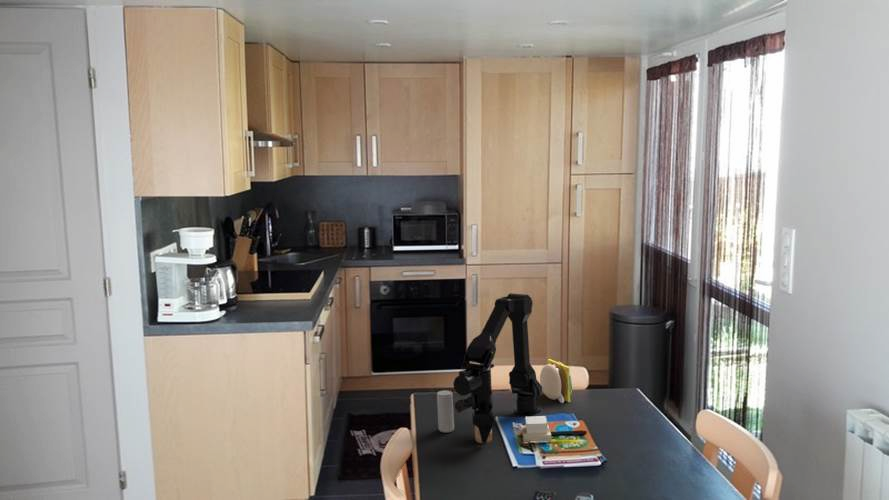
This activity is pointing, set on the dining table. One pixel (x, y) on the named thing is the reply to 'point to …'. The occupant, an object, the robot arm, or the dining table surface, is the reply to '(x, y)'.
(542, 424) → the white block
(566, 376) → the hamburger
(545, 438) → the birch slab
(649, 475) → the dining table surface
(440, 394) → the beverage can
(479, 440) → the tan cylinder
